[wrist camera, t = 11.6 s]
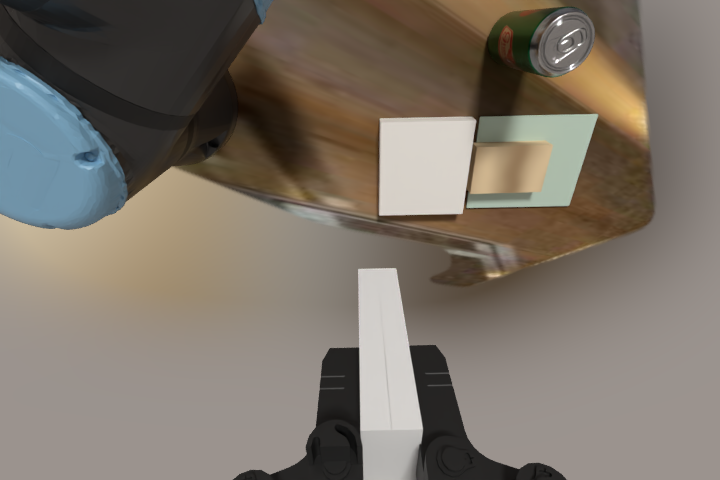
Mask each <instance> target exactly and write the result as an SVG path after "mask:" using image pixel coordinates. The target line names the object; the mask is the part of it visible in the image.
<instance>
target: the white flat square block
mask: <svg viewBox="0 0 720 480" xmlns="http://www.w3.org/2000/svg"><path fill="white" fill-rule="evenodd" d="M475 126H476V120H475V119H474V118H473V117H428V118H379V216H381V215H430V214H462V213H463V207H464V200H465V193H466V186H467V180H468V173H469V166H470V159H471V153H472V146H473V139H474V133H475Z"/></svg>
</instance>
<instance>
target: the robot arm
mask: <svg viewBox="0 0 720 480" xmlns="http://www.w3.org/2000/svg"><path fill="white" fill-rule="evenodd" d="M272 1H273V0H0V214H2V215H5V216H7V217H9V218H12V219H14V220H16V221H19V222H22V223H25V224H28V225H32V226H36V227H41V228H48V229H55V228H60V229H66V230H70V229H77V228H82V227H86V226H89V225H91V224H93V223H95V222H97V221H98V220H100V219H102V218H103V217H105V216H108V215H110V214H114V213H116V212H117V211H118V210H120V209H121V208H122V207H123V206H124V204H125V202H126V201H127V200H129V199H130V198H131V197H133V196H134V195H135V194H137V193H138V192H139V191H140V190H142V189H143V188H144V187H146V186H147V185H148V184H149V183H151V182H152V181H153V180H155V179H156V178H157V177H158V176H160V175H161V174H162V173H163V172H165V171H166V170H168V169H169V168H170V167H171V166H181V165H191V164H195V163H198V162H201V161H203V160H206V159H208V158H209V157H211V156H212V155H214V154H215V153H216V152H217V151H218V150H219V149H221V148H222V147H223V146H224V145H225V144H226V142H227V141H228V140H229V138H230V137H231V135H232V133H233V130H234V128H235V125H236V121H237V114H238V103H237V95H236V90H235V87H234V83H233V81H232V78H231V76H230V73H229V71H228V70H227V69H228V68H229V66H230V65H231V64H232V62H233V61H234V59H235V58H236V56H237V55H238V53H239V52H240V51H241V49H242V48H243V46H244V45H245V43H246V42H247V41H248V39H249V38H250V36H251V35H252V33H253V32H254V31H255V29H256V28H257V26H258V25H260V24H263V22H264V19H265V18H266V11H267V10H268V8H269V6H270V5H271V3H272ZM358 273H359V274H358V276H359V278H358V279H359V348H330V349H329V351H328V352H327V354H326V356H325V358H324V359H323V361H322V371H321V381H320V391H319V401H318V411H317V421H316V428H315V429H314V430H313V432H312V433H311V434H310V436H309V438H308V441H307V444H306V452H307V455H306V456H305V457H304V458H303V459H302V460H301V461H299V462H298V463H297V464H295V465H293V466H291V467H289V468H286V469H284V470H281V471H279V472H276V473H273V474H271V475H269V474H267V473H265V472H264V471H262V470H249V471H247V472H244V473H241V474H239V475H238V476H237V477H236V478H234V479H233V480H566V478H565V477H563V475H562V474H560V473H559V472H558V471H556V470H555V469H553V468H552V467H550V466H547V465H544V464H541V463H528V464H527V465H525V466H523V467H522V468H520V469H517V468H513V467H510V466H507V465H504V464H501V463H498V462H495V461H493V460H490V459H488V458H486V457H485V456H484V455H482V454H481V453H479V452H478V451H477V450H476V449H475V448H474V447H473V445H472V444H471V443H470V441H469V440H468V438H467V435H466V432H465V430H464V426H463V422H462V418H461V415H460V411H459V407H458V404H457V400H456V397H455V393H454V389H453V387H452V382H451V378H450V375H449V370H448V367H447V363H446V359H445V357H444V356H443V354H442V353H441V352H440V350H439V349H438V348H437V347H436V345H417V346H409V343H408V337H407V331H406V325H405V319H404V313H403V307H402V301H401V295H400V289H399V283H398V277H397V271H396V268H387V269H386V268H385V269H384V268H383V269H358Z"/></svg>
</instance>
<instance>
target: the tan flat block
mask: <svg viewBox="0 0 720 480" xmlns="http://www.w3.org/2000/svg"><path fill="white" fill-rule="evenodd" d="M552 148H553V145H552V144H551V143H549V142H547V141H546V140H543V141H509V142H474V143H473V146H472V153H471V159H470V166H469V173H468V180H467V186H466V188H467V190H468V191H469V193H470V194H488V193H523V192H541V190H542V186H543V183H544V179H545V175H546V171H547V167H548V163H549V159H550V156H551V152H552Z"/></svg>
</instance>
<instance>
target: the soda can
mask: <svg viewBox="0 0 720 480" xmlns="http://www.w3.org/2000/svg"><path fill="white" fill-rule="evenodd" d="M594 39H595V30H594V26H593V23H592V21H591V20H590V18H589V17H588V16H587V15H586V13H585V12H583V11H582V10H581V9H578V8H575V7H558V8H547V9H535V10H524V11H514V12H510V13H508V14H506V15H504V16H503V17H501V18H500V19H499V20H498V21H497V22H496V23H495V25H494V26H493V28H492V30H491V32H490V35H489V40H488V49H489V53H490V55H491V57H492V59H493V60H494V61H495V62H496V63H498V64H500V65H503V66H507V67H511V68H514V69H518V70H522V71H525V72H529V73H533V74H537V75H540V76H544V77H558V76H562V75H564V74H566V73H568V72H570V71H572V70H574V69H575V68H577V67H578V66H579V65H580V64H581V63H582V62H583V61H584V60H585V59H586V58H587V56H588V55H589V53H590V51H591V49H592V47H593V43H594Z"/></svg>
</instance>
